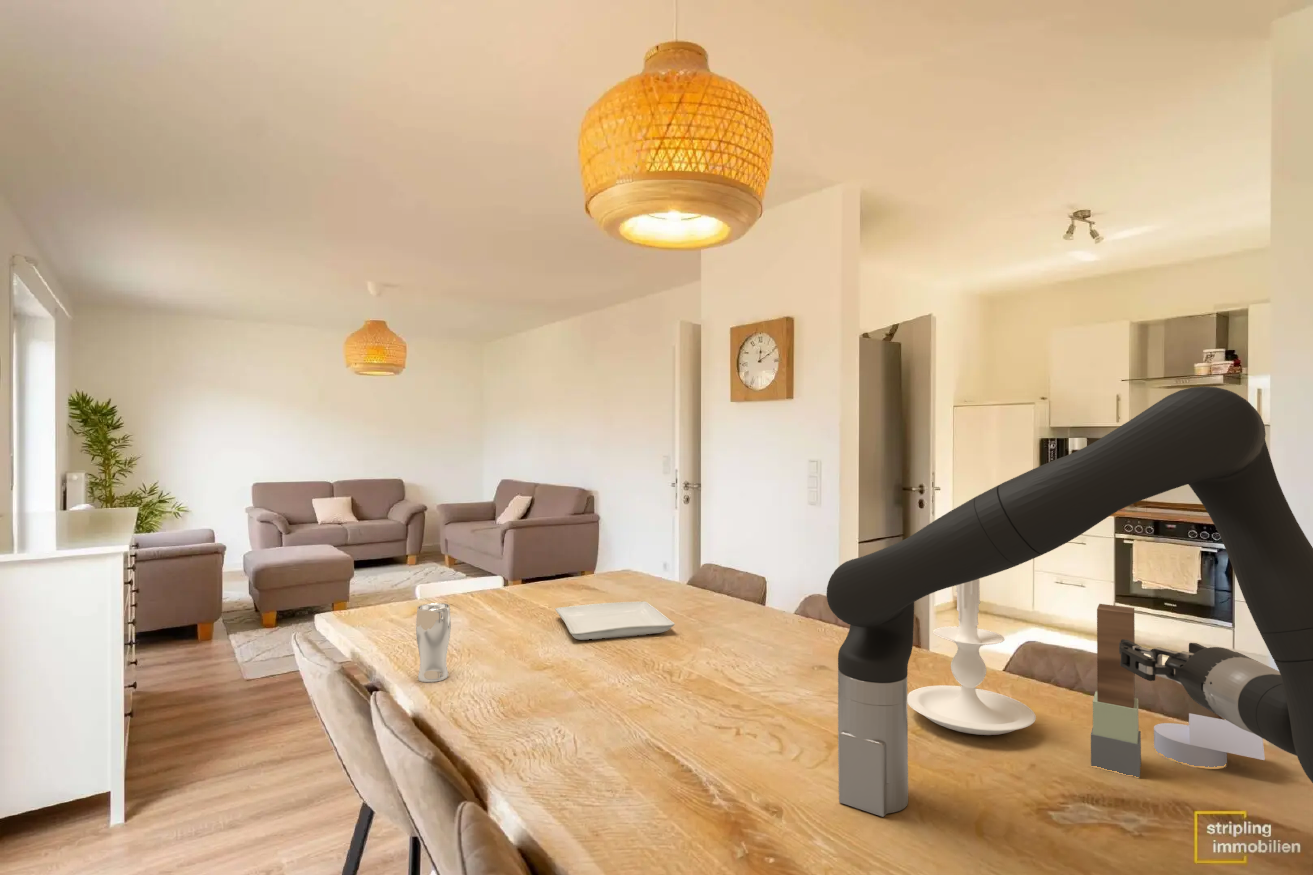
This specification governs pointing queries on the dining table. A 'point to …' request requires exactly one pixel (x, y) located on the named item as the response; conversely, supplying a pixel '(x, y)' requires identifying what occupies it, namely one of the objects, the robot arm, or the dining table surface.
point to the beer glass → (433, 640)
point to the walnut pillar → (1114, 655)
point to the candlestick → (970, 680)
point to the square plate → (613, 620)
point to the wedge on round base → (1206, 741)
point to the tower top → (1115, 721)
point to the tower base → (1116, 754)
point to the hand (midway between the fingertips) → (1157, 648)
